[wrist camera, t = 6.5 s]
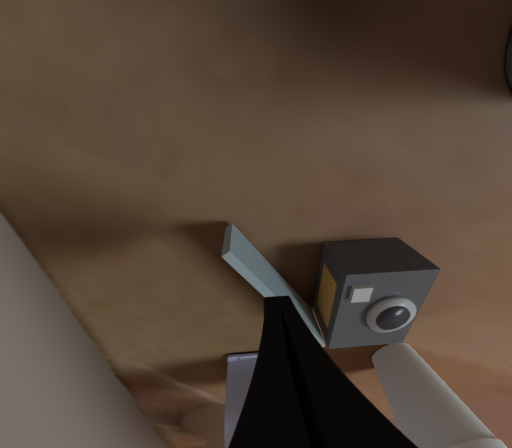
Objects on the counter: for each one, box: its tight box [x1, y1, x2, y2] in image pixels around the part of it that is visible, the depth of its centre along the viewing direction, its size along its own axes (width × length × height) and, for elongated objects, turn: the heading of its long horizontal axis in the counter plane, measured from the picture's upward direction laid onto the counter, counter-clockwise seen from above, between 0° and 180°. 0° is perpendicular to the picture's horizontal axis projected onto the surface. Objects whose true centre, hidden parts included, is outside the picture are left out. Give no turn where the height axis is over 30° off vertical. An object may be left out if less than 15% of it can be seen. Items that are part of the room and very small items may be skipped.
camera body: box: [313, 238, 440, 349], centre depth 20 cm, size 8×10×6 cm
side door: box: [221, 224, 325, 347], centre depth 19 cm, size 1×15×4 cm, turn 36°
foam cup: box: [372, 343, 507, 448], centre depth 26 cm, size 10×9×13 cm
